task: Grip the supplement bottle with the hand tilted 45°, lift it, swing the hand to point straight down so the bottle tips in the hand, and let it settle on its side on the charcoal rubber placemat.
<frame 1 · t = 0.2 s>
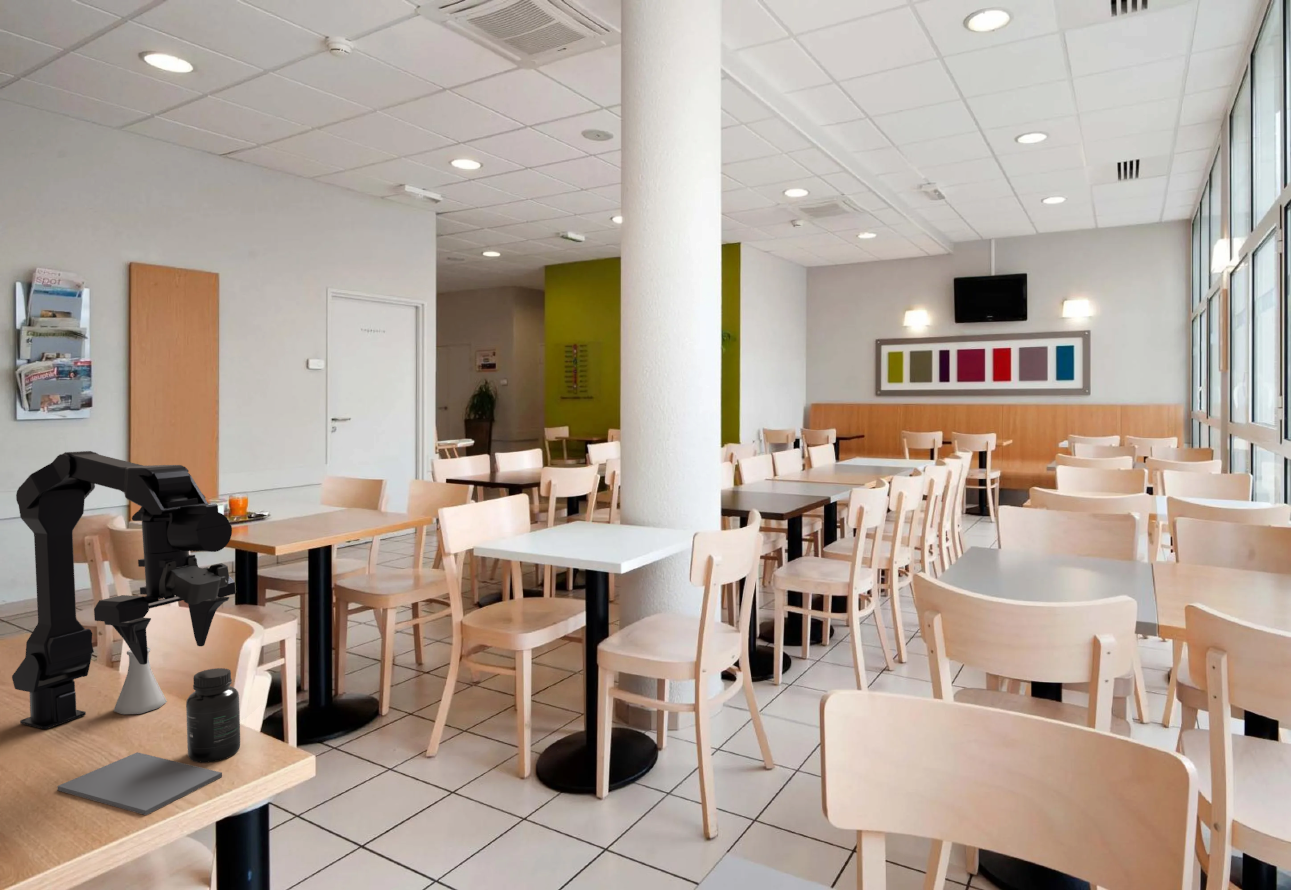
hand: (173, 654, 118), 14 cm above the table, tool pointing down, fingers open, 9 cm apart
supplement bottle: (214, 754, 117), on the table
flask: (140, 708, 134), on the table
placemat: (141, 783, 107), on the table
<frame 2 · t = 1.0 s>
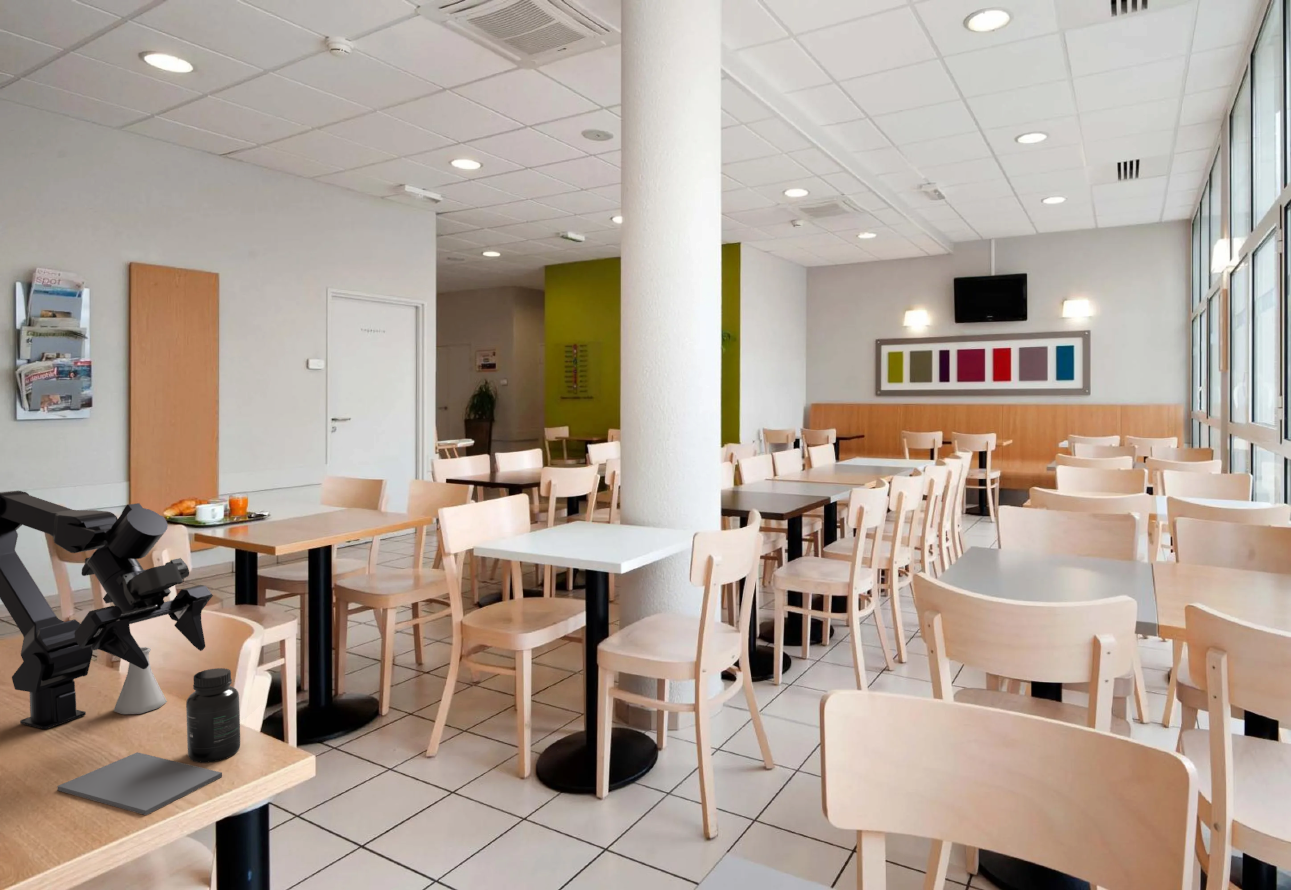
hand: (175, 657, 119), 13 cm above the table, tool tilted 45°, fingers open, 9 cm apart
nothing on the table moved.
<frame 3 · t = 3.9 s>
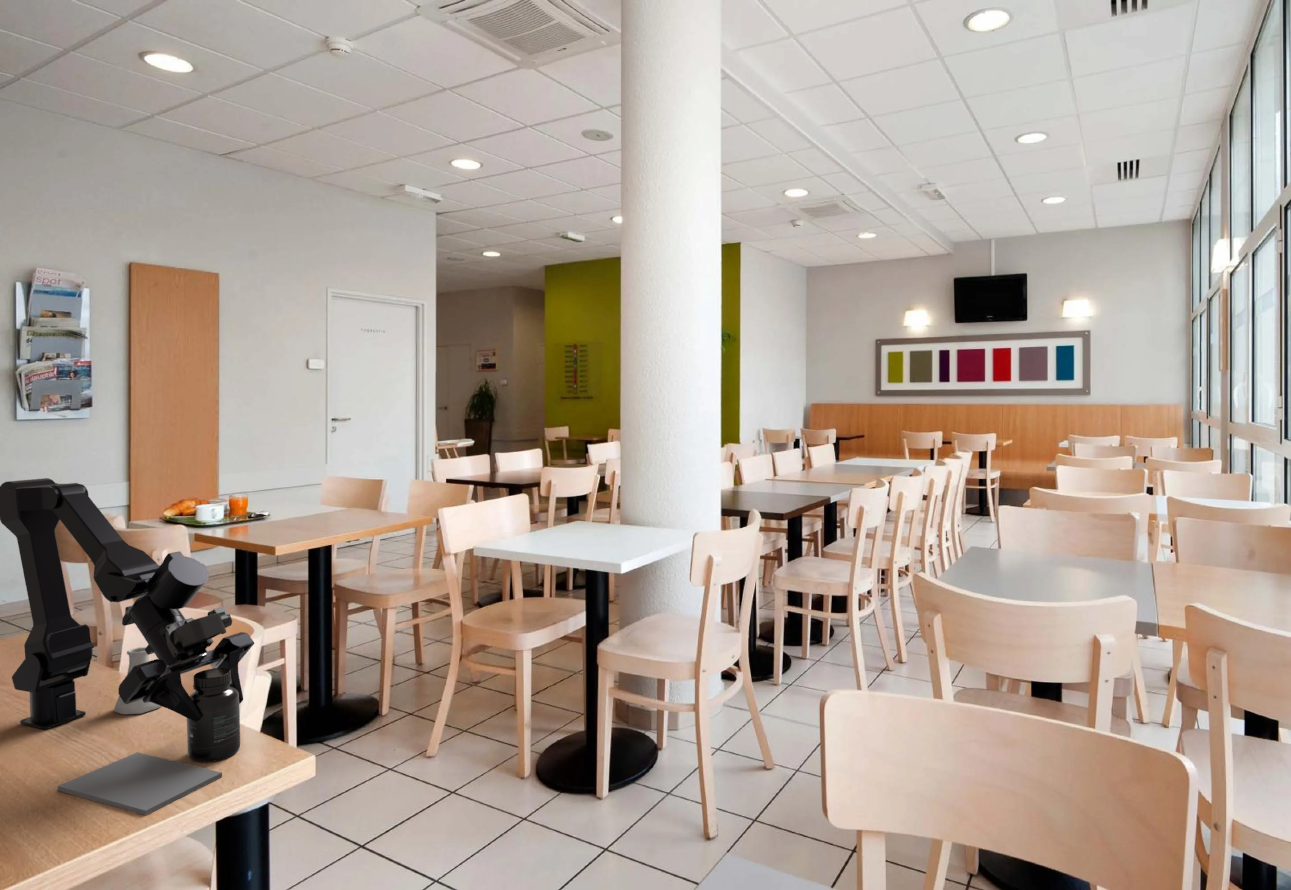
hand: (220, 710, 116), 7 cm above the table, tool tilted 45°, fingers closed on supplement bottle, 7 cm apart
supplement bottle: (214, 754, 117), on the table, touching gripper
everything else where it was.
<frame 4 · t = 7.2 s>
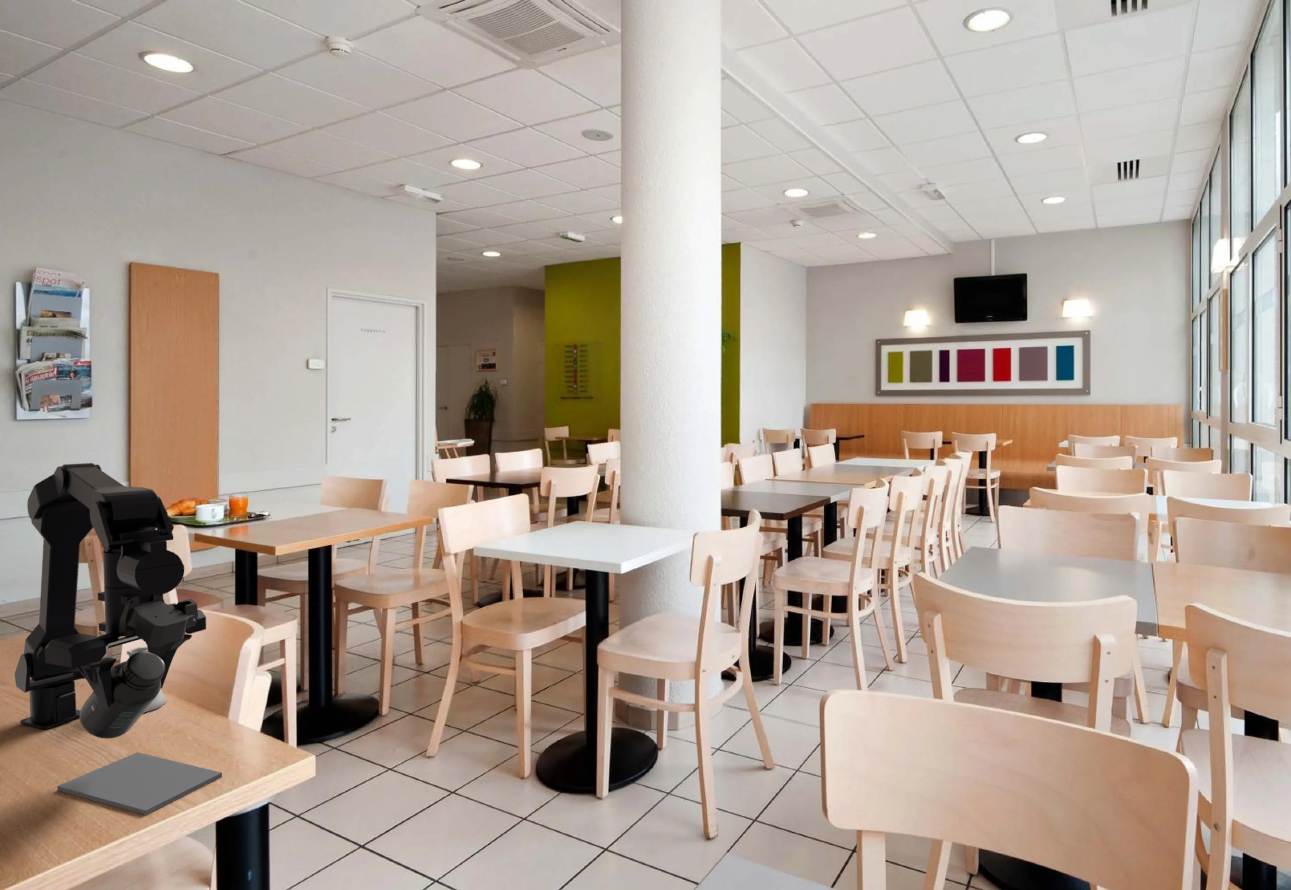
hand: (133, 697, 107), 12 cm above the table, tool pointing down, fingers closed on supplement bottle, 7 cm apart
supplement bottle: (105, 719, 109), point 8 cm above the table, touching gripper
everything else where it was.
when the fingers open (8 cm above the table, at t = 8.8 s): supplement bottle moves 3 cm, resting on placemat.
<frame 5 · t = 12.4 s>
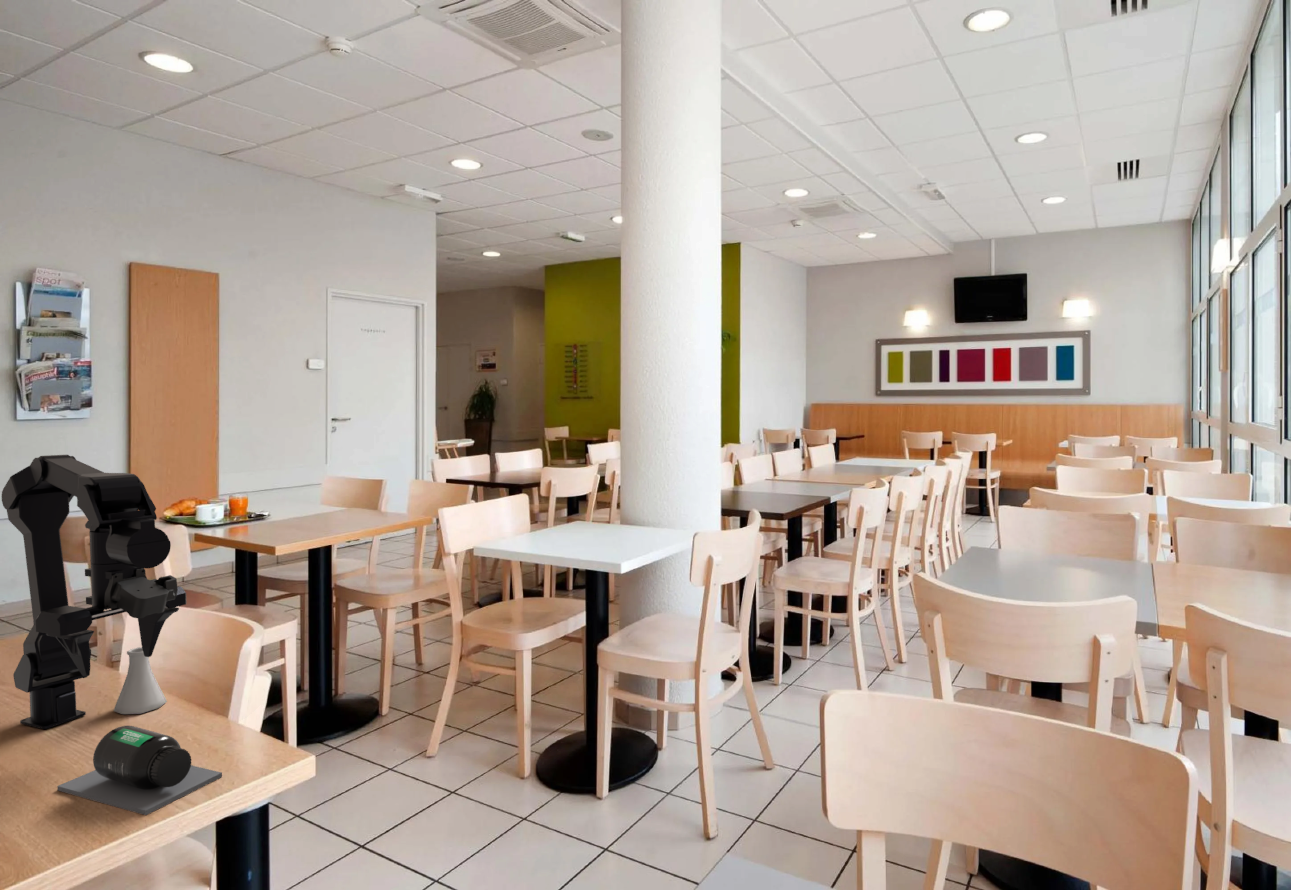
hand: (118, 665, 116), 13 cm above the table, tool pointing down, fingers open, 9 cm apart
supplement bottle: (116, 750, 108), point 4 cm above the table, touching placemat
everything else where it was.
at the end: supplement bottle tilted 90°; supplement bottle inside the target area (4.7 cm from its centre), point 4.0 cm above the table; supplement bottle touching placemat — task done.
